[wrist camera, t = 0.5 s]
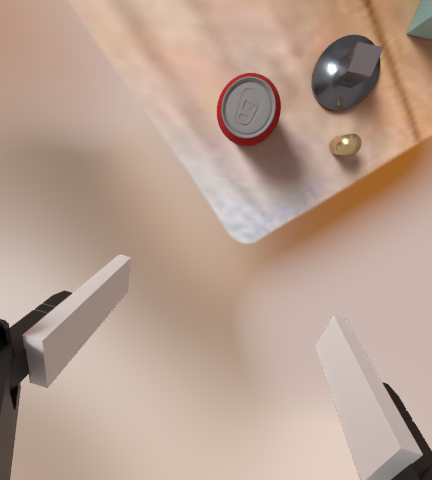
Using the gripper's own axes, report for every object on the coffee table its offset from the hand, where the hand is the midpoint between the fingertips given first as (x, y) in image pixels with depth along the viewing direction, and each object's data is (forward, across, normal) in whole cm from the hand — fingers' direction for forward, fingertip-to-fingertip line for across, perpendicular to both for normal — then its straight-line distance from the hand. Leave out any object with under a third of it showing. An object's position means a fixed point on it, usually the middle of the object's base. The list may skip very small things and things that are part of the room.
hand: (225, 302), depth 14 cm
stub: (+26, +12, +12) cm, 31 cm away
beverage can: (+26, -2, +12) cm, 29 cm away
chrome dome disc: (+26, +8, +20) cm, 34 cm away
